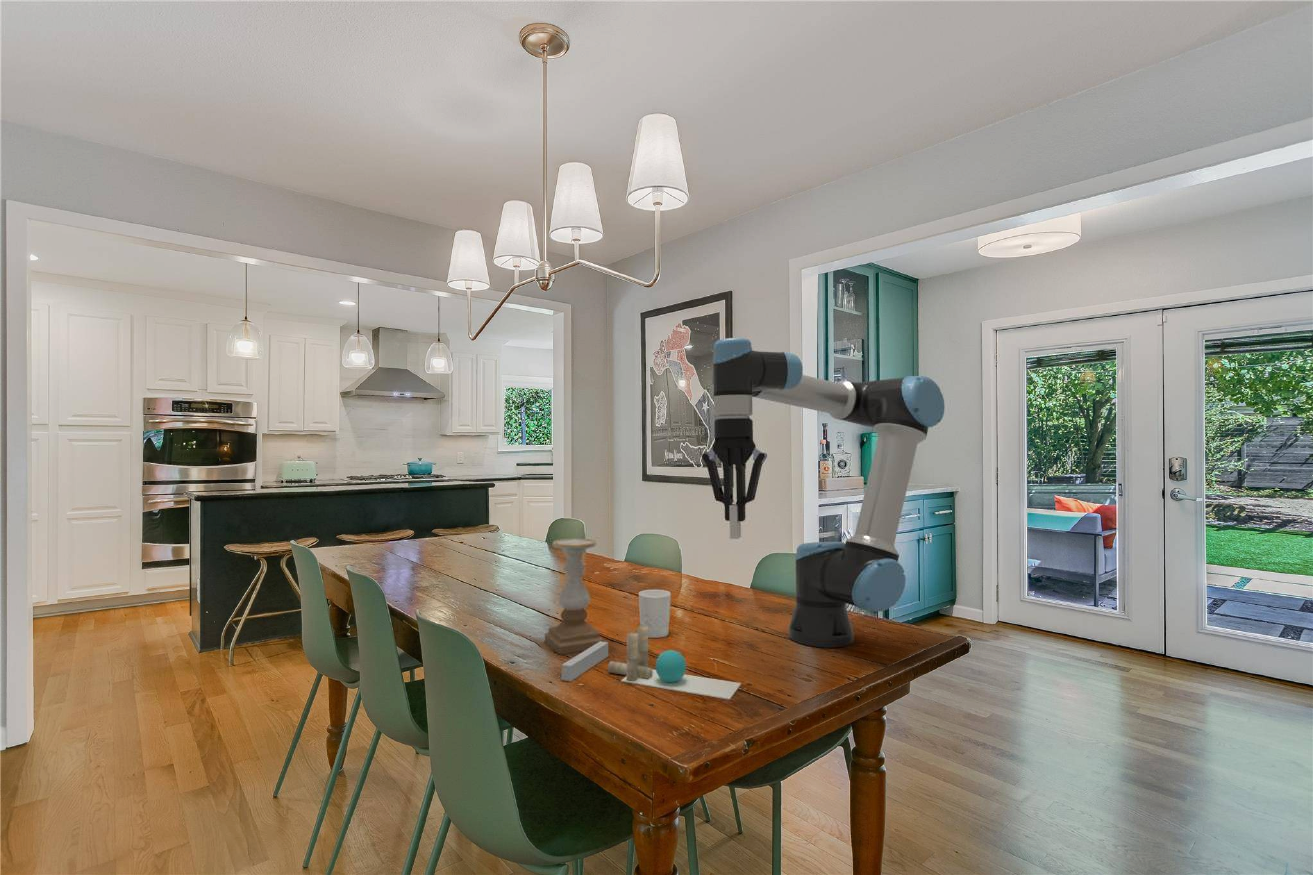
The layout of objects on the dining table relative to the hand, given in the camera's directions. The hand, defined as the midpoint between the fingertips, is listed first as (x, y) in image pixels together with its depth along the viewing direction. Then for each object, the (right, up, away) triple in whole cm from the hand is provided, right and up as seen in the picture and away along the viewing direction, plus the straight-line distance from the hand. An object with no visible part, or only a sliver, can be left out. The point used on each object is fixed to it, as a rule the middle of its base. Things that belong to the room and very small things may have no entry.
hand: (735, 537), depth 122 cm
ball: (-13, -25, -1) cm, 28 cm away
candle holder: (-35, -29, +22) cm, 50 cm away
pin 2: (-18, -28, +5) cm, 34 cm away
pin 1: (-20, -28, 0) cm, 35 cm away
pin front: (-17, -27, +1) cm, 32 cm away
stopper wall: (-30, -28, +7) cm, 42 cm away
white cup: (-16, -29, +30) cm, 45 cm away
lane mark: (-11, -28, -1) cm, 30 cm away
